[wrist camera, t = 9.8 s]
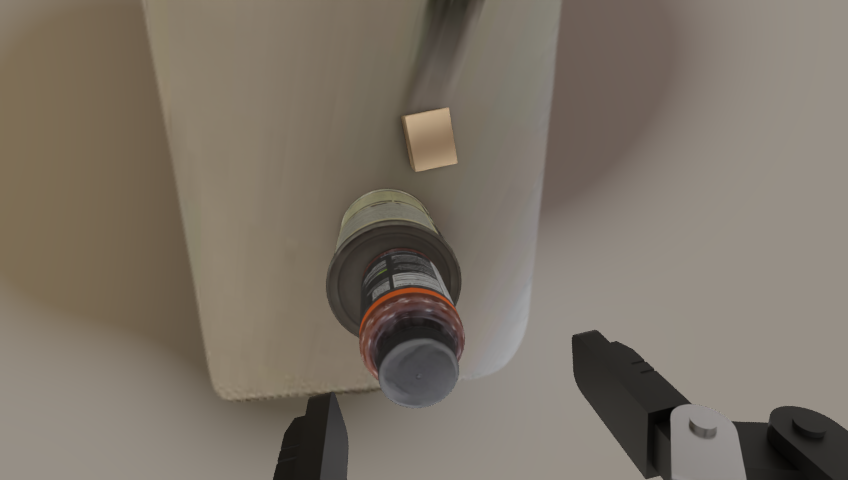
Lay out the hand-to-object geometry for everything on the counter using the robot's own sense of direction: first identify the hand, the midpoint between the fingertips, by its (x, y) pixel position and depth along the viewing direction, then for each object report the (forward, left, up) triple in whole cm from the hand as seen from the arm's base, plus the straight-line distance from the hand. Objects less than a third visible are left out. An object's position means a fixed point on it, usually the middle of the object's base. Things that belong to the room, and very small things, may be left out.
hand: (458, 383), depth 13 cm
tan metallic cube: (-5, +4, -31) cm, 31 cm away
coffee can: (+4, -2, -31) cm, 31 cm away
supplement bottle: (+3, -1, -17) cm, 17 cm away
